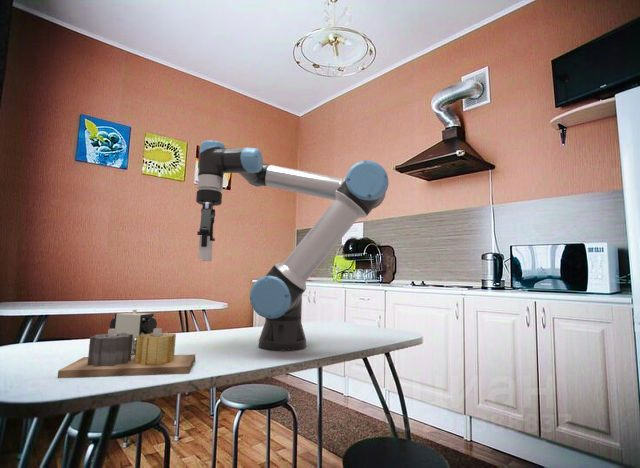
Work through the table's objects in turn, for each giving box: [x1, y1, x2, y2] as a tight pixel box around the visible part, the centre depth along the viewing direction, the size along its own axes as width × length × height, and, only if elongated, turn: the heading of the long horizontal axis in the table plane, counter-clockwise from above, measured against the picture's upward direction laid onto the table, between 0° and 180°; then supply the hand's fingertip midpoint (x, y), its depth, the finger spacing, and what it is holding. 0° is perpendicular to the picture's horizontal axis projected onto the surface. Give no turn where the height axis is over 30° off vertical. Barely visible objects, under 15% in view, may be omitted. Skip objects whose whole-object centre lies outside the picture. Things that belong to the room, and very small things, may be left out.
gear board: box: [57, 327, 196, 379], centre depth 84 cm, size 26×13×9 cm, turn 103°
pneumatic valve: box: [109, 309, 158, 356], centre depth 100 cm, size 6×12×12 cm, turn 79°
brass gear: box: [134, 332, 177, 365], centre depth 85 cm, size 8×8×6 cm
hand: (205, 260), depth 107 cm, fingers open, 13 cm apart
